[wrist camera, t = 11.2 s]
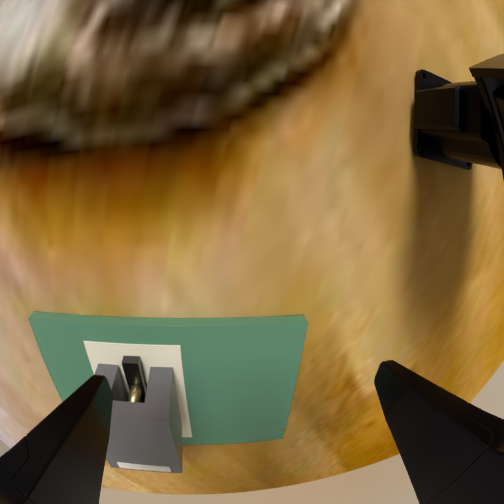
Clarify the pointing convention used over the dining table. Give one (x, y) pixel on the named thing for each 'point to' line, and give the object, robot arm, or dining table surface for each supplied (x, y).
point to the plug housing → (145, 423)
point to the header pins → (135, 378)
